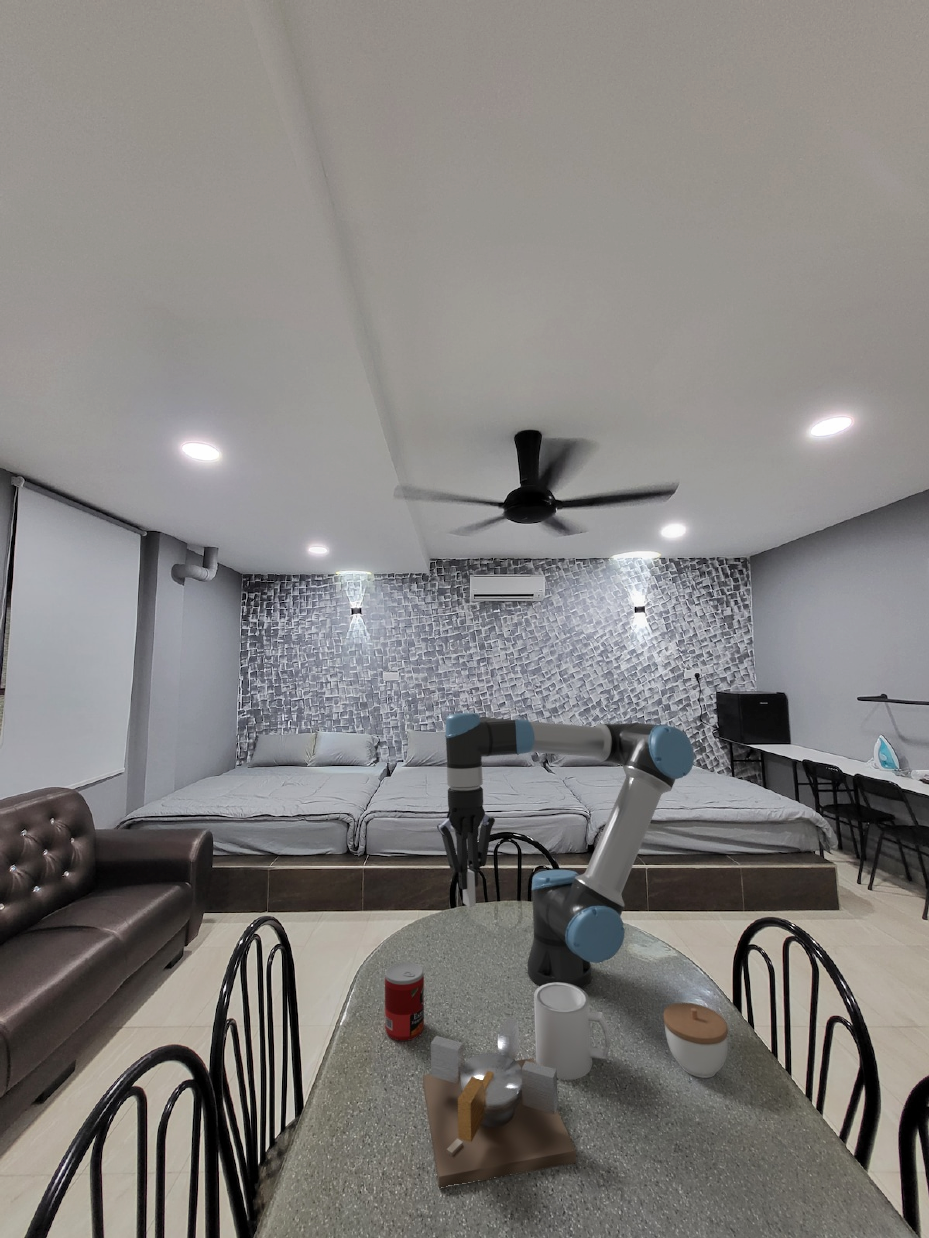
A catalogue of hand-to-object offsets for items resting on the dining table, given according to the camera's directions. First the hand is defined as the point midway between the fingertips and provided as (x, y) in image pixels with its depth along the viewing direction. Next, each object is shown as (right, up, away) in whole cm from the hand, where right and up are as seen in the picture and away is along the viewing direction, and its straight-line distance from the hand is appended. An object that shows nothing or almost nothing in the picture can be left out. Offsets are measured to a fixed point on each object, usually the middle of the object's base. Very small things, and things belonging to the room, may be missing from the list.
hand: (469, 903), depth 110 cm
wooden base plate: (+3, -21, -26) cm, 33 cm away
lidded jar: (+41, -22, -14) cm, 49 cm away
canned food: (-13, -24, -2) cm, 28 cm away
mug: (+18, -22, -13) cm, 32 cm away
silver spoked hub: (+3, -16, -25) cm, 30 cm away
